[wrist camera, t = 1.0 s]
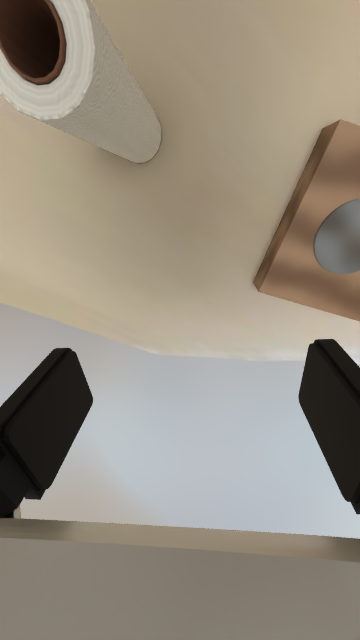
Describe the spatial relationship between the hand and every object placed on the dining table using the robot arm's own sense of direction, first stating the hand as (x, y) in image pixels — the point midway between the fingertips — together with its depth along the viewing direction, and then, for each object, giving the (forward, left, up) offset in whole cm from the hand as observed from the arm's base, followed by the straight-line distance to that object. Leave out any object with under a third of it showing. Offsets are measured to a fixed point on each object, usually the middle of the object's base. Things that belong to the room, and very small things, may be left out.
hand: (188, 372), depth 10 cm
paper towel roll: (-10, -11, -29) cm, 33 cm away
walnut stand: (-6, +19, -29) cm, 35 cm away
